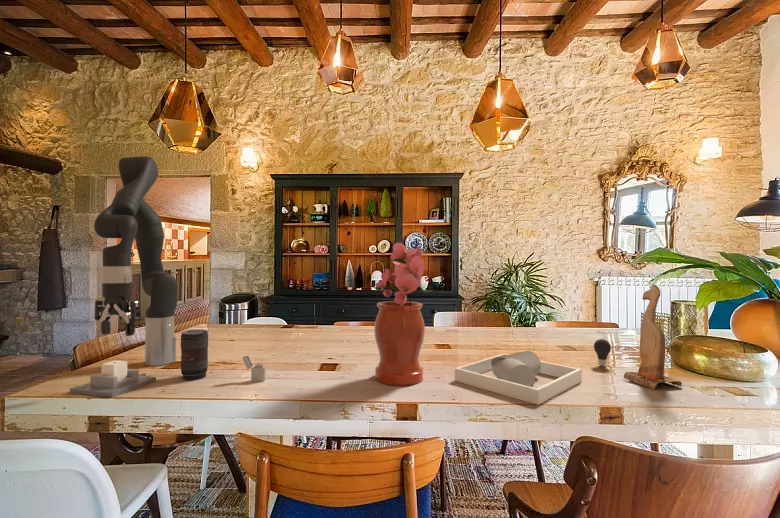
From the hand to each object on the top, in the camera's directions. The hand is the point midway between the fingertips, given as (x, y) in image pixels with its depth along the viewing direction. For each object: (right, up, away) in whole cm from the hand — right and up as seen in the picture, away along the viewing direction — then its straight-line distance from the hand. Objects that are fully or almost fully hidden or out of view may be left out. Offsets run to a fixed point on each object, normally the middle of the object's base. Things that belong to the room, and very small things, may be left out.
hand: (118, 334), depth 117 cm
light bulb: (+161, -17, +27) cm, 164 cm away
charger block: (-1, -14, 0) cm, 14 cm away
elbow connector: (+124, -17, +8) cm, 125 cm away
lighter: (+39, -16, +7) cm, 43 cm away
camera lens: (+18, -16, +9) cm, 26 cm away
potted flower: (+86, -17, +12) cm, 89 cm away
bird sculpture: (+166, -17, +7) cm, 167 cm away
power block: (0, -16, +1) cm, 16 cm away
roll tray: (+124, -17, +8) cm, 125 cm away
